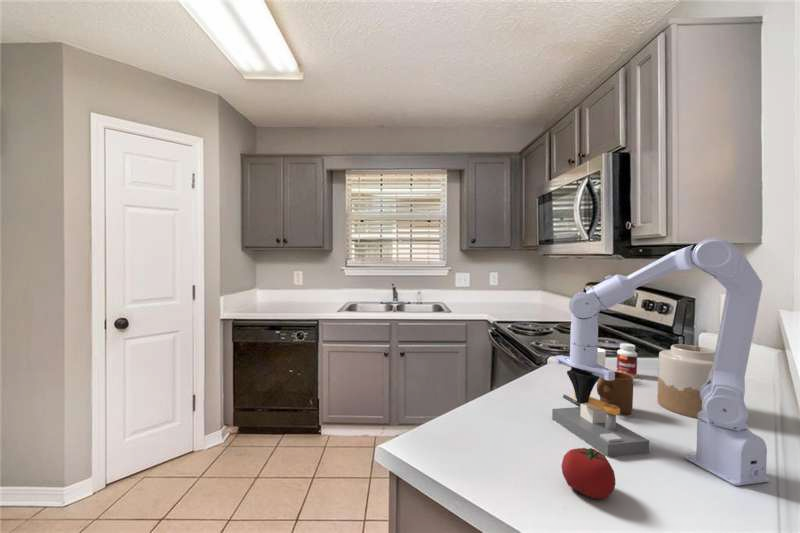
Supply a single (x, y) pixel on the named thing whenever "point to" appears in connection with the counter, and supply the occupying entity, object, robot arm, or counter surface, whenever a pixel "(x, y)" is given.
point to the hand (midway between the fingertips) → (582, 402)
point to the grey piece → (602, 433)
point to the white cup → (601, 357)
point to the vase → (683, 378)
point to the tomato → (588, 472)
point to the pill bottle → (627, 360)
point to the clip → (603, 406)
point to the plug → (589, 411)
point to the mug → (617, 392)
